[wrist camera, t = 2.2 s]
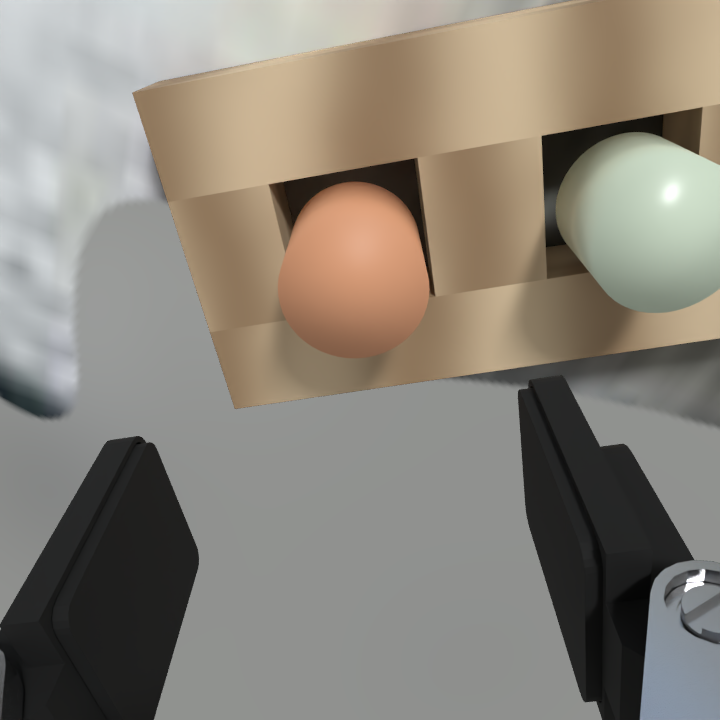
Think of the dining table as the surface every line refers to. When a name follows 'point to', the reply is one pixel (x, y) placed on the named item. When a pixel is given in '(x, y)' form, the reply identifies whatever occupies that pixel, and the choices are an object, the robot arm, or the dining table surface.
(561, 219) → the pale green rounded knob
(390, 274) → the brown egg
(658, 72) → the oak panel
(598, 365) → the dining table surface
